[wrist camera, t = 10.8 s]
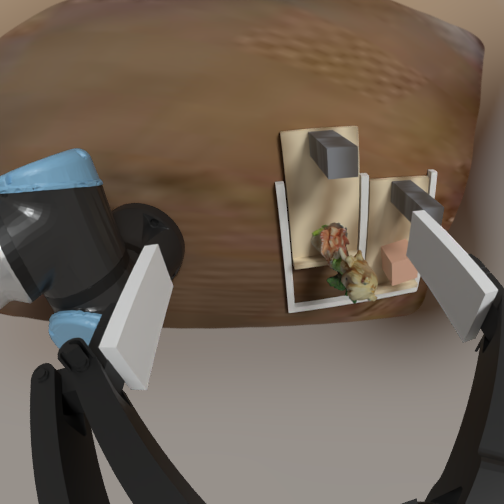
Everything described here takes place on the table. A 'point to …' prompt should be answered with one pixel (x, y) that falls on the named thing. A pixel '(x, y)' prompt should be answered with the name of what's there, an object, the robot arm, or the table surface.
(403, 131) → the table surface
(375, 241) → the strip
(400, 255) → the terracotta cube
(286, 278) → the lane board
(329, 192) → the strip
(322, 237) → the figurine
